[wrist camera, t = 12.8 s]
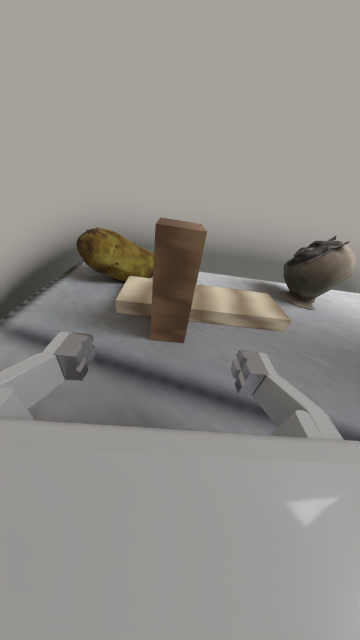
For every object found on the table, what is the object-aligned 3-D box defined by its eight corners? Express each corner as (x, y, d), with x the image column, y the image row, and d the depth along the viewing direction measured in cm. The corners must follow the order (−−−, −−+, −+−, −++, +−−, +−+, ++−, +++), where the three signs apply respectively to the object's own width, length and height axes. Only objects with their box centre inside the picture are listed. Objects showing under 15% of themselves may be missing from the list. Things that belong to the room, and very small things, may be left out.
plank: (263, 303, 32) (267, 293, 31) (284, 331, 26) (291, 320, 25) (129, 286, 30) (129, 275, 29) (116, 312, 24) (115, 299, 22)
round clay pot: (264, 285, 40) (283, 308, 32) (290, 227, 34) (323, 236, 25) (307, 292, 41) (338, 317, 32) (342, 236, 34) (391, 247, 25)
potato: (158, 291, 30) (161, 242, 26) (77, 285, 28) (65, 230, 24) (158, 273, 37) (161, 231, 32) (92, 266, 35) (85, 221, 30)
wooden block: (182, 297, 30) (195, 216, 23) (183, 342, 21) (206, 231, 14) (158, 294, 29) (164, 211, 22) (149, 339, 20) (155, 223, 13)
